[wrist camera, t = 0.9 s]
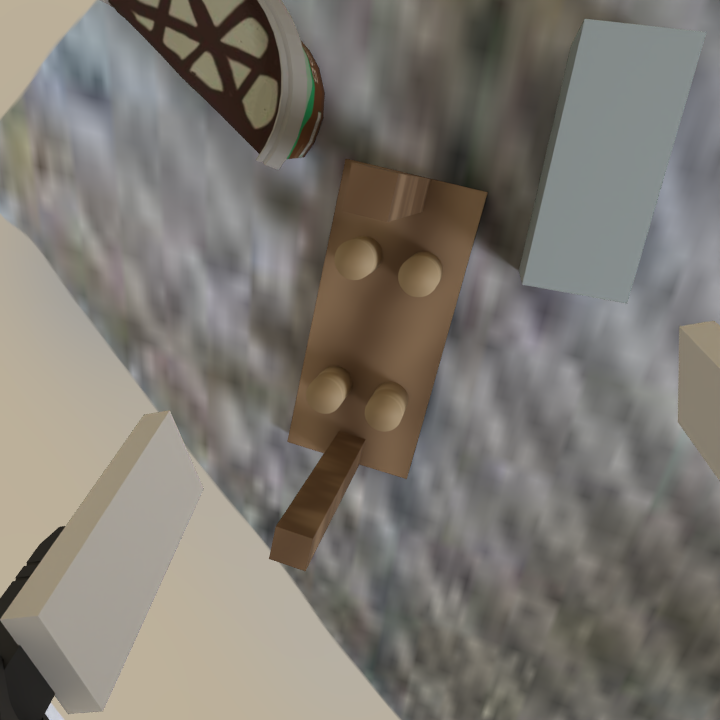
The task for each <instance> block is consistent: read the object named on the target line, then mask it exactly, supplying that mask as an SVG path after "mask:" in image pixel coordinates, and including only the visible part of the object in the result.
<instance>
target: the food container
mask: <svg viewBox="0 0 720 720" xmlns="http://www.w3.org/2000/svg"><path fill="white" fill-rule="evenodd" d="M101 1H103V2H105V3H107V4H108V5H110V6H112V7H114V8H115V9H116V11H117V12H118V13H119V14H120V15H122V16H123V17H124V18H125V19H126V20H127V21H128V22H129V23H130V24H131V25H132V26H133V27H134V28H135V29H136V30H137V31H138V32H139V33H140V34H141V35H142V36H143V37H144V38H145V39H146V40H147V41H148V42H149V43H150V44H151V45H152V46H153V47H154V48H155V49H156V50H157V51H158V52H159V53H160V54H161V55H162V57H163V58H164V59H165V60H166V61H167V62H168V63H169V64H170V65H171V66H172V67H173V68H174V69H175V71H176V72H177V73H178V74H179V75H180V76H181V77H182V78H183V79H184V80H185V81H186V82H187V83H188V84H189V85H190V86H191V87H192V88H193V89H194V90H196V91H197V92H198V93H199V94H200V95H201V96H202V97H203V98H204V99H205V100H206V101H207V102H208V103H209V104H210V105H211V106H212V107H213V108H214V109H215V110H216V111H217V112H218V113H219V114H220V115H221V116H222V117H223V118H224V119H225V120H226V121H227V122H228V123H229V124H230V125H231V126H232V127H233V128H234V129H235V130H236V131H237V132H238V133H239V134H240V135H241V136H242V137H243V138H244V139H245V140H246V141H247V142H248V143H249V144H250V145H251V146H252V147H253V148H254V149H255V150H256V151H257V152H258V153H259V156H258V157H257V159H256V160H257V161H260V162H263V163H264V164H265V165H266V166H269V167H272V168H275V169H277V170H279V169H280V167H281V166H282V164H283V163H284V161H285V160H286V159H292V158H302V157H305V155H306V154H307V152H308V151H309V150H310V148H311V147H312V145H313V144H314V142H315V140H316V137H317V134H318V131H319V128H320V126H321V123H322V120H323V111H324V95H325V92H324V88H323V84H322V79H321V75H320V70H319V67H318V65H317V63H316V62H315V60H314V58H313V56H312V54H311V52H310V51H309V49H308V48H307V47H306V46H305V45H304V43H303V42H302V41H301V40H300V37H299V34H298V32H297V29H296V27H295V25H294V22H293V20H292V17H291V16H290V14H289V12H288V11H287V9H286V7H285V6H284V4H283V2H282V1H281V0H101Z"/></svg>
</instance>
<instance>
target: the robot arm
mask: <svg viewBox="0 0 720 720" xmlns="http://www.w3.org/2000/svg"><path fill="white" fill-rule="evenodd" d="M678 423H679V424H680V426H681V427H682V429H683V430H684V431H685V433H686V434H687V436H688V437H689V438H690V440H691V441H692V443H693V444H694V445H695V447H696V448H697V450H698V451H699V452H700V454H701V455H702V457H703V458H704V459H705V461H706V462H707V464H708V465H709V466H710V468H711V469H712V471H713V472H714V474H715V475H716V476H717V478H718V479H719V481H720V326H719V325H718V324H717V323H716V322H715V321H710V322H704V323H698V324H691V325H685V326H679V387H678ZM203 489H204V488H203V486H202V483H201V481H200V479H199V476H198V474H197V472H196V470H195V467H194V465H193V463H192V460H191V458H190V456H189V453H188V451H187V449H186V447H185V444H184V442H183V440H182V437H181V435H180V433H179V431H178V428H177V426H176V424H175V421H174V419H173V417H172V415H171V412H170V410H169V411H163V412H157V413H151V414H146V415H143V417H142V418H141V420H140V421H139V423H138V424H137V425H136V427H135V428H134V430H133V431H132V433H131V434H130V435H129V437H128V438H127V440H126V441H125V443H124V444H123V445H122V447H121V448H120V450H119V451H118V452H117V454H116V455H115V457H114V458H113V460H112V461H111V463H110V464H109V465H108V467H107V469H105V471H104V472H103V474H102V475H101V477H100V478H99V480H98V481H97V482H96V484H95V485H94V487H93V488H92V489H91V491H90V492H89V494H88V495H87V497H86V498H85V499H84V501H83V502H82V504H81V505H80V506H79V508H78V509H77V511H76V512H75V514H74V515H73V517H72V518H71V519H70V521H69V522H68V524H67V525H66V526H62V527H59V528H58V529H57V530H55V531H54V532H53V533H52V534H51V535H50V536H49V537H48V538H46V539H45V540H44V541H43V542H42V543H41V544H40V545H39V546H38V548H37V549H36V550H35V552H34V553H33V554H32V556H31V557H30V558H29V560H28V561H27V566H24V567H23V568H22V570H21V571H20V572H19V574H18V575H17V576H16V581H13V582H12V583H11V585H10V586H9V587H8V589H7V590H6V591H5V593H4V594H3V595H2V597H1V598H0V720H49V719H48V717H47V716H46V715H45V712H46V710H47V708H48V706H49V704H50V703H51V700H52V699H53V697H54V695H55V697H56V698H57V699H58V701H59V702H60V704H61V705H62V706H63V708H64V709H65V711H66V712H67V713H68V714H74V713H87V712H99V711H103V710H104V708H105V705H106V703H107V701H108V699H109V697H110V694H111V692H112V690H113V688H114V686H115V683H116V681H117V679H118V677H119V675H120V672H121V670H122V668H123V666H124V663H125V661H126V659H127V656H128V655H129V652H130V650H131V648H132V646H133V644H134V641H135V639H136V637H137V635H138V633H139V630H140V628H141V626H142V624H143V622H144V619H145V617H146V615H147V613H148V610H149V608H150V606H151V604H152V602H153V600H154V597H155V595H156V593H157V591H158V588H159V586H160V584H161V582H162V580H163V577H164V575H165V573H166V571H167V569H168V566H169V564H170V562H171V560H172V558H173V555H174V553H175V551H176V549H177V547H178V544H179V542H180V540H181V538H182V535H183V533H184V531H185V529H186V527H187V525H188V522H189V520H190V518H191V516H192V514H193V511H194V509H195V507H196V504H197V502H198V500H199V498H200V496H201V493H202V491H203Z"/></svg>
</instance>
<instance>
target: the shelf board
mask: <svg viewBox="0 0 720 720" xmlns="http://www.w3.org/2000/svg"><path fill="white" fill-rule="evenodd" d="M705 35H706V32H701V31H692V30H683V29H674V28H665V27H656V26H646V25H637V24H628V23H619V22H610V21H601V20H591V19H585V20H584V21H583V23H582V25H581V27H580V29H579V31H578V33H577V35H576V37H575V39H574V41H573V43H572V45H571V48H570V52H569V56H568V61H567V65H566V69H565V74H564V78H563V82H562V87H561V91H560V95H559V100H558V104H557V108H556V113H555V117H554V121H553V125H552V130H551V134H550V138H549V143H548V147H547V151H546V156H545V160H544V164H543V169H542V173H541V177H540V182H539V186H538V190H537V194H536V199H535V203H534V207H533V212H532V216H531V220H530V225H529V229H528V233H527V238H526V242H525V246H524V251H523V255H522V259H521V263H520V268H519V274H520V277H521V281H522V285H528V286H533V287H539V288H544V289H550V290H555V291H561V292H566V293H571V294H577V295H582V296H588V297H593V298H599V299H604V300H610V301H615V302H621V303H626V304H627V302H628V299H629V295H630V292H631V289H632V285H633V282H634V278H635V275H636V271H637V268H638V265H639V261H640V258H641V254H642V251H643V248H644V244H645V241H646V237H647V234H648V230H649V227H650V224H651V220H652V217H653V213H654V210H655V206H656V203H657V200H658V196H659V193H660V189H661V186H662V183H663V179H664V176H665V172H666V169H667V165H668V162H669V159H670V155H671V152H672V148H673V145H674V141H675V138H676V135H677V131H678V128H679V124H680V121H681V118H682V114H683V111H684V107H685V104H686V100H687V97H688V94H689V90H690V87H691V83H692V80H693V76H694V73H695V70H696V66H697V63H698V59H699V56H700V53H701V49H702V46H703V42H704V39H705Z"/></svg>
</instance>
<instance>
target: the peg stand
mask: <svg viewBox="0 0 720 720" xmlns="http://www.w3.org/2000/svg"><path fill="white" fill-rule="evenodd" d="M487 193H488V192H484V191H480V190H476V189H471V188H467V187H463V186H459V185H455V184H450V183H446V182H442V181H438V180H434V179H429V178H425V177H421V176H417V175H413V174H408V173H404V172H400V171H396V170H392V169H387V168H383V167H379V166H375V165H371V164H366V163H362V162H358V161H354V160H350V159H345V164H344V169H343V174H342V179H341V184H340V189H339V193H338V198H337V203H336V208H335V213H334V218H333V223H332V227H331V232H330V237H329V242H328V247H327V252H326V257H325V262H324V266H323V271H322V276H321V281H320V286H319V291H318V296H317V300H316V305H315V310H314V315H313V320H312V325H311V330H310V334H309V339H308V344H307V349H306V354H305V359H304V364H303V368H302V373H301V378H300V383H299V388H298V393H297V398H296V403H295V407H294V412H293V417H292V422H291V427H290V432H289V437H288V441H287V442H290V443H293V444H296V445H299V446H303V447H306V448H309V449H312V450H315V451H319V452H322V453H324V454H323V456H322V457H321V459H320V460H319V462H318V463H317V465H316V466H315V468H314V469H313V471H312V473H311V474H310V476H309V477H308V479H307V480H306V482H305V483H304V485H303V486H302V488H301V489H300V491H299V492H298V494H297V495H296V497H295V498H294V500H293V501H292V503H291V504H290V506H289V507H288V509H287V510H286V512H285V513H284V515H283V516H282V518H281V519H280V521H279V523H278V524H277V526H276V528H275V533H274V538H273V543H272V547H271V552H270V557H269V559H271V560H274V561H277V562H280V563H283V564H286V565H289V566H292V567H294V568H297V569H300V570H303V571H306V569H307V567H308V565H309V563H310V561H311V559H312V557H313V555H314V553H315V551H316V549H317V547H318V545H319V543H320V541H321V539H322V537H323V535H324V533H325V531H326V529H327V527H328V525H329V523H330V521H331V519H332V517H333V515H334V514H335V512H336V510H337V508H338V506H339V504H340V502H341V500H342V498H343V496H344V494H345V492H346V490H347V488H348V486H349V484H350V482H351V480H352V478H353V476H354V474H355V472H356V470H357V468H358V466H359V464H360V465H363V466H367V467H370V468H373V469H376V470H379V471H382V472H386V473H389V474H392V475H395V476H398V477H402V478H405V479H407V476H408V473H409V469H410V466H411V462H412V459H413V455H414V452H415V448H416V445H417V441H418V438H419V434H420V431H421V427H422V423H423V420H424V416H425V413H426V409H427V406H428V402H429V399H430V395H431V392H432V388H433V384H434V381H435V377H436V374H437V370H438V367H439V363H440V360H441V356H442V353H443V349H444V346H445V342H446V338H447V335H448V331H449V328H450V324H451V321H452V317H453V314H454V310H455V307H456V303H457V299H458V296H459V292H460V289H461V285H462V282H463V278H464V275H465V271H466V268H467V264H468V261H469V257H470V253H471V250H472V246H473V243H474V239H475V236H476V232H477V229H478V225H479V222H480V218H481V214H482V211H483V207H484V204H485V200H486V197H487Z"/></svg>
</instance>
